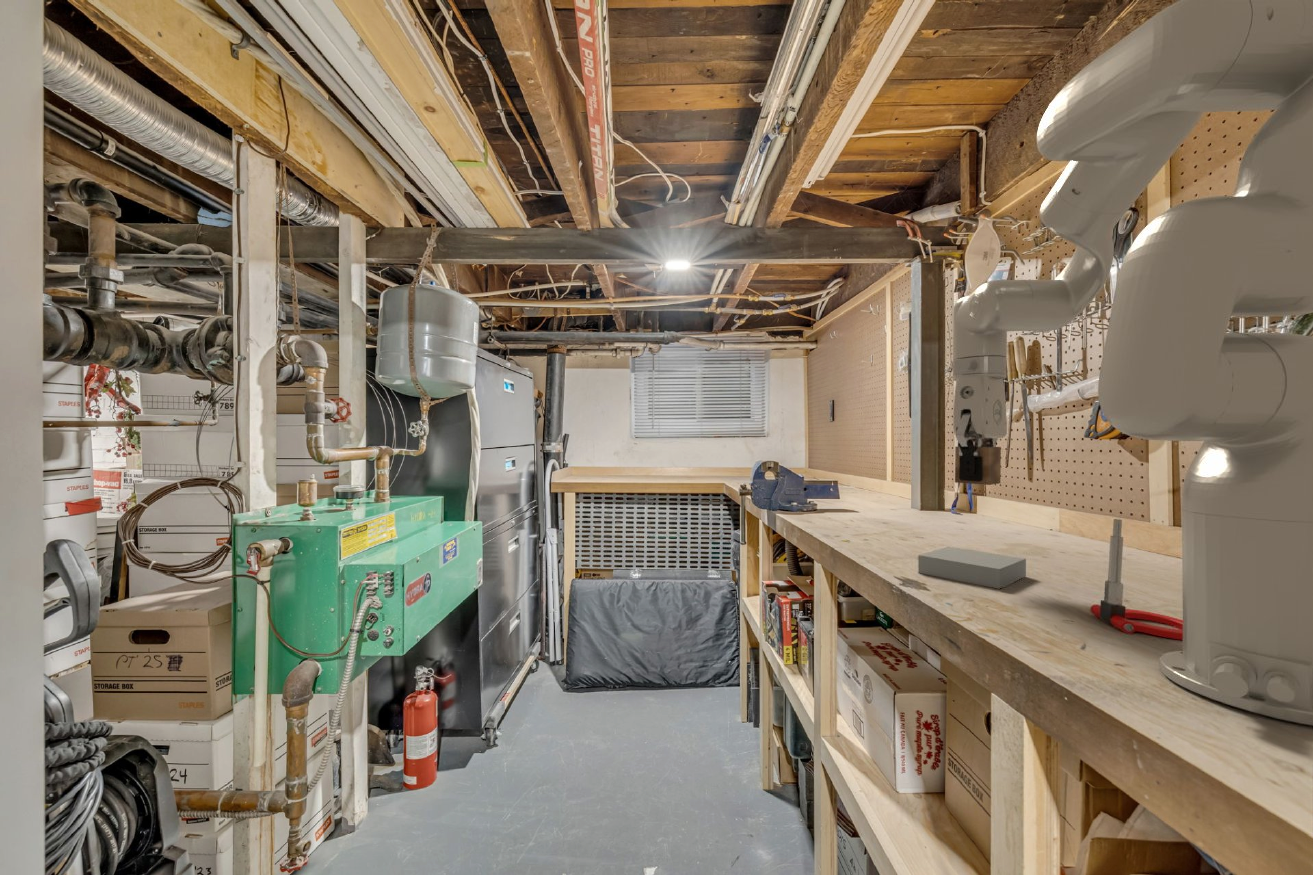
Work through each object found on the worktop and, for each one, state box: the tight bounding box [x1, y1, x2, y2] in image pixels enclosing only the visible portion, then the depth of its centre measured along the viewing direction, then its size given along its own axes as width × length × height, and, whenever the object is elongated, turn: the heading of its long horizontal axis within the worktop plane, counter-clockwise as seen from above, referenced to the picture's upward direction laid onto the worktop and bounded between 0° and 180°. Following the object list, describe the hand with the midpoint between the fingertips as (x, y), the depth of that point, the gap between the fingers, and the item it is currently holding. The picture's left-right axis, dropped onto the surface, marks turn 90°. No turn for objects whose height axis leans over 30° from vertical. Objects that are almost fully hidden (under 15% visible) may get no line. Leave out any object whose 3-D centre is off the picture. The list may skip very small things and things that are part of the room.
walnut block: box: [954, 446, 1002, 486], centre depth 84 cm, size 5×5×6 cm
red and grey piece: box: [1089, 518, 1183, 641], centre depth 61 cm, size 8×13×9 cm
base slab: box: [917, 546, 1027, 589], centre depth 85 cm, size 12×12×3 cm
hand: (977, 478), depth 84 cm, fingers closed on walnut block, 5 cm apart
